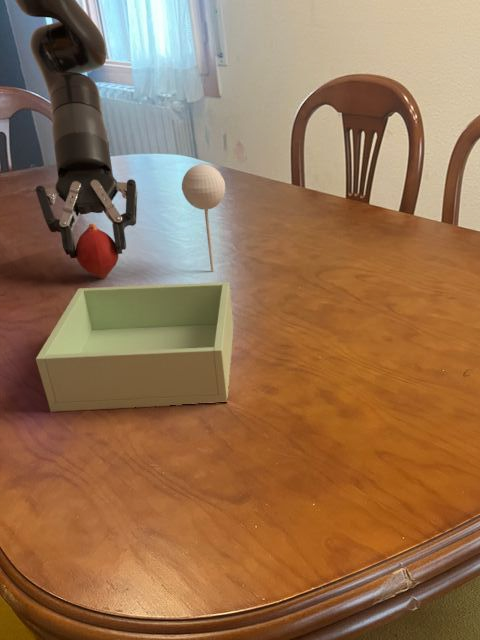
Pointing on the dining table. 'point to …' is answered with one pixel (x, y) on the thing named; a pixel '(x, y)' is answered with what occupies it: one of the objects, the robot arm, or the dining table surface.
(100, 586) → the dining table surface
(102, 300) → the bin
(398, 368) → the dining table surface
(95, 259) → the red kuri squash
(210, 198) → the lollipop
